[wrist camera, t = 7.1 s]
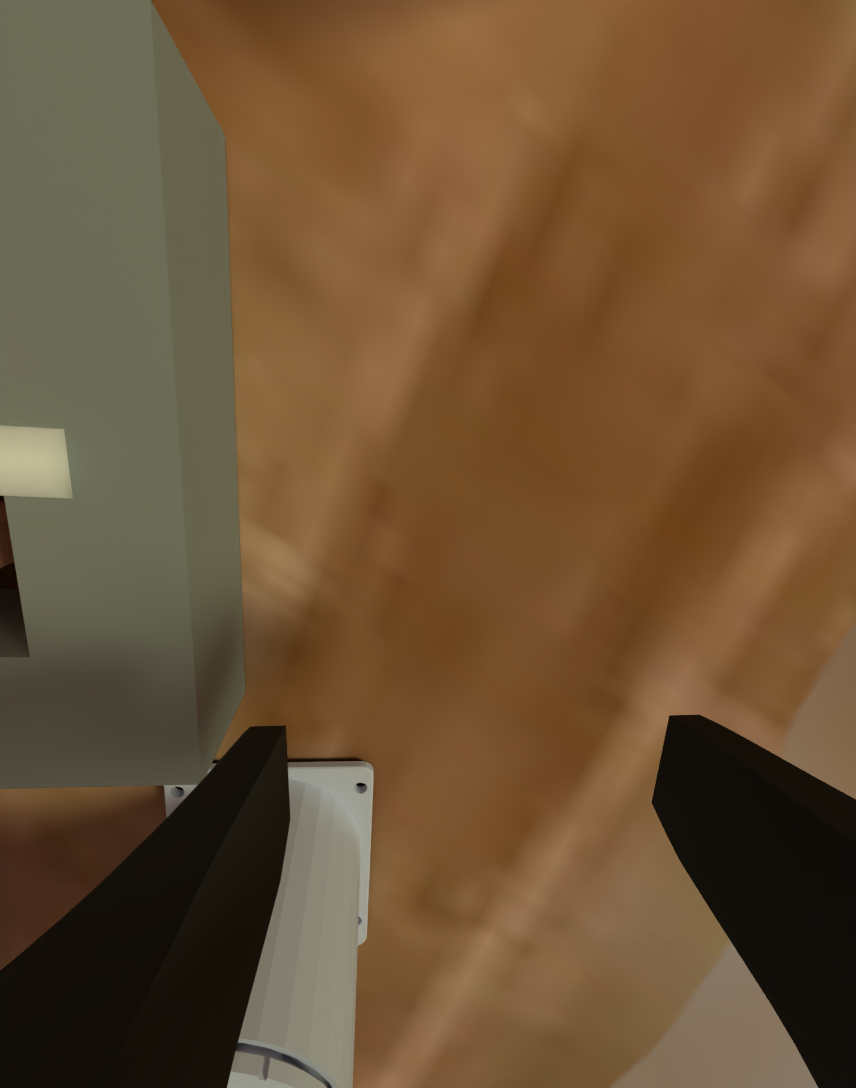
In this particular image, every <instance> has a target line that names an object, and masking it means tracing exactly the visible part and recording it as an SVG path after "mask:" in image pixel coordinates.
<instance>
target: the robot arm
mask: <svg viewBox="0 0 856 1088" xmlns="http://www.w3.org/2000/svg"><path fill="white" fill-rule="evenodd" d="M373 777H374V771H373V767H372V766H371V764H369V763H368V762H364V761H334V762H288V760H287V741H286V726H255V727H250V728H248V729H247V730H246V731H245V732H244V733H243V734H242V736H241V737H240V738H239V739H238V740H237V741H236V742H235V743H234V745H233V746H232V747H231V748H230V749H229V750H228V752H227V753H226V754H225V755H224V756H223V757H222V758H221V759H220V761H219V762H218V763H212V764H211V766H210V768H209V770H208V773H207V775H206V776H205V777H204V779H203V780H202V781H201V782H200V783H199V784H198V785H164V795H165V807H166V819H165V820H164V821H163V822H162V823H161V824H160V825H159V826H158V827H157V828H156V829H155V831H154V832H153V833H152V834H151V835H149V836H148V837H147V838H146V839H145V840H144V841H143V842H142V843H141V844H140V845H139V846H138V847H137V848H136V849H135V850H134V851H133V852H132V853H131V854H130V855H129V856H128V857H127V858H126V859H125V860H124V861H123V862H122V863H121V864H120V865H119V866H118V867H117V868H116V869H115V870H114V871H113V872H112V873H111V874H110V875H109V876H108V877H106V878H105V879H104V880H103V881H102V882H101V883H100V884H99V885H98V886H97V887H96V888H95V889H94V890H92V891H91V892H90V893H89V894H88V895H87V896H86V897H85V898H84V899H83V900H82V901H81V902H79V903H78V904H77V905H76V906H75V907H74V908H73V909H72V910H71V911H69V912H68V913H67V914H66V915H65V916H64V917H63V918H62V919H60V920H59V921H58V922H57V923H56V924H55V925H54V926H52V927H51V928H50V929H49V930H48V931H47V932H45V933H44V934H43V935H42V936H41V937H40V938H38V939H37V940H36V941H35V942H34V943H33V944H32V945H30V946H29V947H28V948H27V949H26V950H25V951H23V952H22V953H21V954H20V955H19V956H17V957H16V958H15V959H14V960H13V961H11V962H10V963H9V964H8V965H7V966H5V967H4V968H3V969H2V970H0V1088H353V1059H354V1031H355V1002H356V973H357V946H358V945H360V944H362V943H363V942H364V941H365V940H366V937H367V918H368V895H369V871H370V848H371V824H372V801H373ZM357 783H364V784H365V785H364V786H357V785H356V784H357ZM175 787H181V788H182V789H184V790H178V789H176V788H175ZM652 804H653V806H654V809H655V811H656V813H657V815H658V817H659V819H660V821H661V824H662V826H663V828H664V830H665V832H666V834H667V836H668V838H669V840H670V842H671V844H672V846H673V848H674V850H675V852H676V854H677V856H678V858H679V860H680V861H681V863H682V865H683V866H684V868H685V870H686V871H687V873H688V874H689V876H690V878H691V879H692V881H693V882H694V884H695V886H696V887H697V889H698V890H699V892H700V894H701V895H702V897H703V898H704V900H705V901H706V903H707V905H708V906H709V908H710V909H711V911H712V913H713V914H714V916H715V917H716V919H717V920H718V922H719V923H720V925H721V927H722V928H723V930H724V931H725V933H726V934H727V936H728V938H729V939H730V941H731V942H732V944H733V945H734V947H735V948H736V950H737V952H738V953H739V955H740V956H741V958H742V959H743V961H744V962H745V964H746V966H747V967H748V969H749V970H750V972H751V974H752V975H753V977H754V978H755V980H756V981H757V983H758V984H759V986H760V988H761V989H762V991H763V992H764V994H765V995H766V997H767V999H768V1000H769V1002H770V1003H771V1005H772V1007H773V1008H774V1010H775V1012H776V1013H777V1015H778V1016H779V1018H780V1020H781V1022H782V1023H783V1025H784V1027H785V1028H786V1030H787V1032H788V1033H789V1035H790V1037H791V1038H792V1040H793V1042H794V1043H795V1045H796V1047H797V1049H798V1051H799V1053H800V1054H801V1056H802V1058H803V1060H804V1062H805V1064H806V1066H807V1067H808V1069H809V1071H810V1073H811V1075H812V1077H813V1078H814V1080H815V1082H816V1084H817V1086H818V1087H819V1088H856V799H854V798H852V797H850V796H848V795H846V794H845V793H843V792H841V791H839V790H837V789H835V788H834V787H832V786H830V785H828V784H826V783H825V782H823V781H821V780H819V779H817V778H816V777H813V776H812V775H810V774H808V773H807V772H805V771H803V770H801V769H799V768H797V767H796V766H794V765H792V764H791V763H789V762H787V761H785V760H783V759H782V758H780V757H778V756H776V755H775V754H773V753H771V752H769V751H767V750H766V749H764V748H762V747H760V746H759V745H757V744H755V743H753V742H751V741H750V740H748V739H746V738H744V737H742V736H740V735H739V734H737V733H735V732H733V731H731V730H729V729H727V728H725V727H724V726H722V725H720V724H718V723H716V722H714V721H712V720H709V719H707V718H705V717H703V716H701V715H674V716H669V720H668V725H667V730H666V735H665V740H664V745H663V750H662V755H661V760H660V765H659V769H658V774H657V779H656V784H655V789H654V794H653V799H652Z"/></svg>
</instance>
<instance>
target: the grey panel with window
mask: <svg viewBox="0 0 856 1088" xmlns="http://www.w3.org/2000/svg"><path fill="white" fill-rule="evenodd" d="M0 496H4V500H5V506H6V513H7V519H8V525H9V531H10V537H11V543H12V550H13V556H14V562H15V568H16V574H17V581H18V587H19V588H0V789H13V788H61V787H109V786H157V785H198V784H199V783H200V782H201V781H202V780H203V779H204V777H205V776H206V775H207V773H208V770H209V768H210V766H211V764H212V762H213V760H214V758H215V755H216V753H217V751H218V749H219V747H220V745H221V743H222V740H223V738H224V736H225V734H226V732H227V730H228V728H229V725H230V723H231V721H232V719H233V717H234V715H235V713H236V710H237V708H238V706H239V704H240V702H241V700H242V698H243V695H244V693H245V672H244V645H243V617H242V590H241V563H240V535H239V508H238V480H237V453H236V425H235V398H234V371H233V343H232V316H231V288H230V261H229V234H228V206H227V179H226V151H225V134H224V133H223V131H222V129H221V127H220V125H219V123H218V122H217V120H216V118H215V116H214V114H213V113H212V111H211V109H210V107H209V105H208V103H207V102H206V100H205V98H204V96H203V94H202V92H201V91H200V89H199V87H198V85H197V83H196V82H195V80H194V78H193V76H192V74H191V72H190V71H189V69H188V67H187V65H186V63H185V61H184V60H183V58H182V56H181V54H180V52H179V51H178V49H177V47H176V45H175V43H174V41H173V40H172V38H171V36H170V34H169V32H168V30H167V29H166V27H165V25H164V23H163V21H162V20H161V18H160V16H159V14H158V12H157V10H156V9H155V7H154V5H153V3H152V1H151V0H0Z"/></svg>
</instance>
